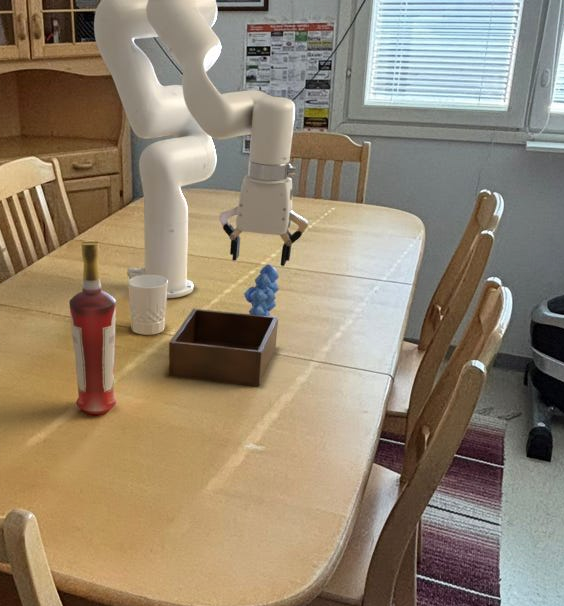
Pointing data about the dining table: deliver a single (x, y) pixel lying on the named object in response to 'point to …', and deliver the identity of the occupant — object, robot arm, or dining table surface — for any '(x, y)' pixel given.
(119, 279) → the dining table surface
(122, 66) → the robot arm
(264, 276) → the grapes
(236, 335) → the brown wooden box
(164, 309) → the white cup
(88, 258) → the liquor
